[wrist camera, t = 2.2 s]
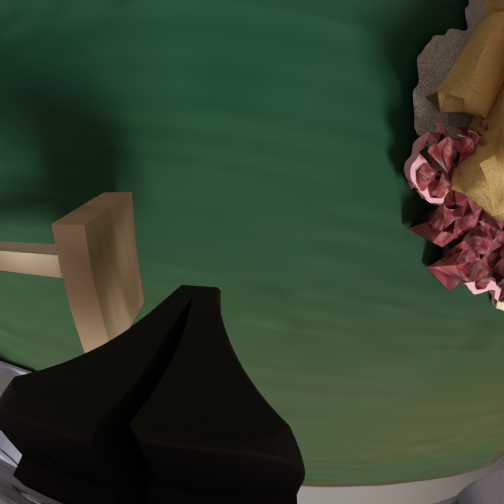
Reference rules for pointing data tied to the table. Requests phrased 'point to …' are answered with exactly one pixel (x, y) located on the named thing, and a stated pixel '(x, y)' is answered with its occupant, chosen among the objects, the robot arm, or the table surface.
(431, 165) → the candy landscape model
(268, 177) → the table surface
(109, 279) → the sled
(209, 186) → the table surface
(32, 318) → the table surface
